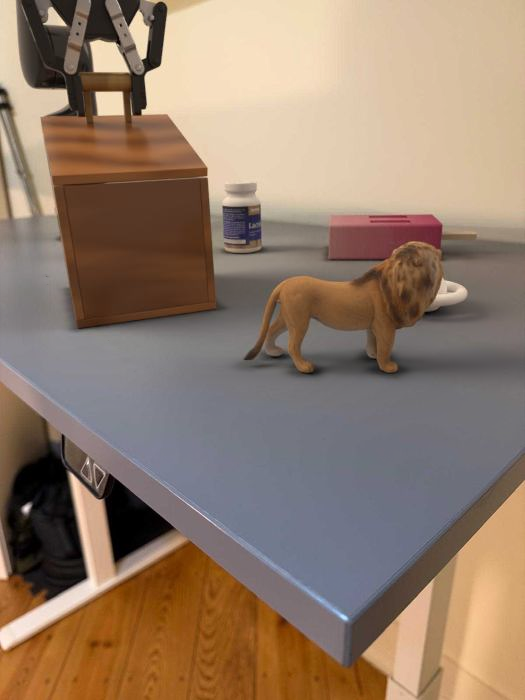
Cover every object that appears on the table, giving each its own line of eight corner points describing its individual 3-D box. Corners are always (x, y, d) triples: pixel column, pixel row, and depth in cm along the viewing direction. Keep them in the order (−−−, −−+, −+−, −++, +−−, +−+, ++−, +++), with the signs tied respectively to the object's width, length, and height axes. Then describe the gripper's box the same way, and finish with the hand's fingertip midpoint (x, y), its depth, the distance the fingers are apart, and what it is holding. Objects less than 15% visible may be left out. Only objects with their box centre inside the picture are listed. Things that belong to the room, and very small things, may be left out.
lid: (41, 124, 57) (31, 66, 54) (167, 121, 62) (166, 67, 58) (53, 185, 46) (41, 116, 42) (207, 176, 50) (208, 112, 47)
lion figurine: (422, 345, 44) (432, 234, 41) (446, 371, 39) (459, 248, 36) (242, 353, 43) (237, 242, 40) (244, 382, 38) (238, 257, 35)
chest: (69, 288, 64) (50, 176, 59) (181, 275, 68) (172, 169, 64) (77, 328, 50) (53, 186, 46) (216, 308, 55) (208, 177, 50)
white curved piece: (369, 314, 51) (456, 326, 48) (372, 254, 49) (463, 261, 46) (393, 295, 58) (471, 304, 54) (397, 242, 56) (478, 247, 52)
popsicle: (485, 223, 69) (329, 224, 72) (481, 260, 71) (328, 260, 74) (470, 213, 78) (330, 214, 81) (466, 246, 80) (330, 246, 82)
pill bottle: (257, 254, 79) (255, 183, 75) (220, 253, 80) (215, 184, 76) (265, 246, 84) (263, 179, 80) (229, 246, 85) (226, 180, 81)
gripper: (154, -66, 55) (169, 115, 62) (2, -79, 50) (36, 118, 57) (170, -91, 49) (185, 114, 55) (-3, -109, 44) (36, 117, 51)
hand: (109, 115), depth 56 cm, fingers closed on lid, 5 cm apart
